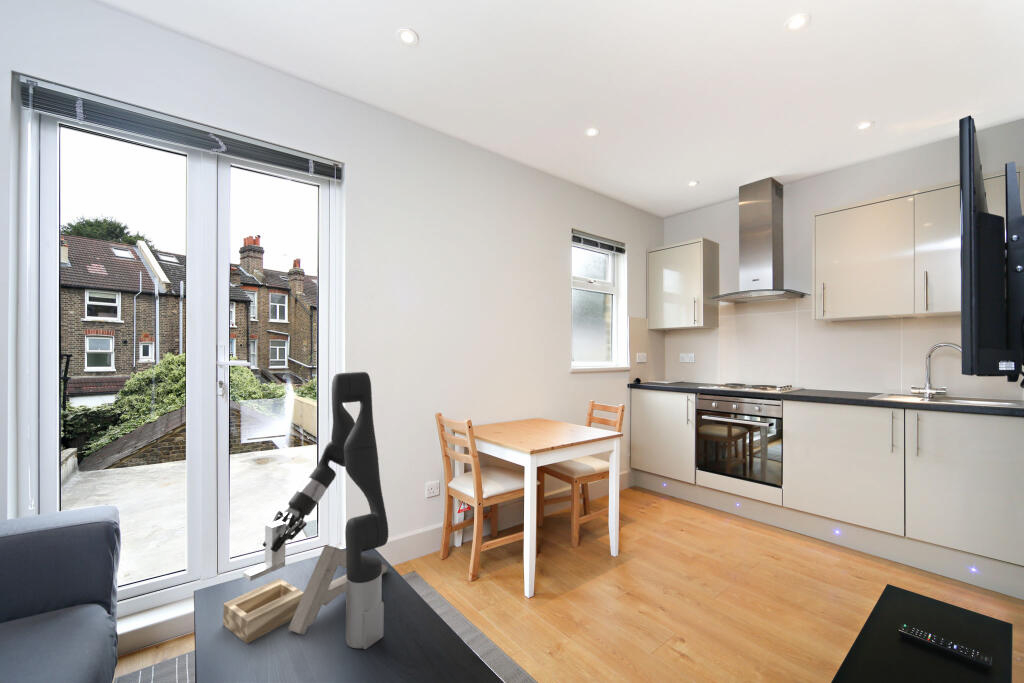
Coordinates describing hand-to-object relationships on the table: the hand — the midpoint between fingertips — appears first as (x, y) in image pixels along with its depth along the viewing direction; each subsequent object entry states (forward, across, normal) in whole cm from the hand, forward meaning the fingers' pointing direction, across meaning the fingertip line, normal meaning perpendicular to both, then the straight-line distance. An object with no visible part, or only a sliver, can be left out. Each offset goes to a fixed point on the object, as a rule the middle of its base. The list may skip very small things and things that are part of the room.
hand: (269, 548), depth 126 cm
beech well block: (+15, 0, +13) cm, 20 cm away
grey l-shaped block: (+5, 0, +4) cm, 6 cm away
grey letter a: (+2, +11, +27) cm, 29 cm away
